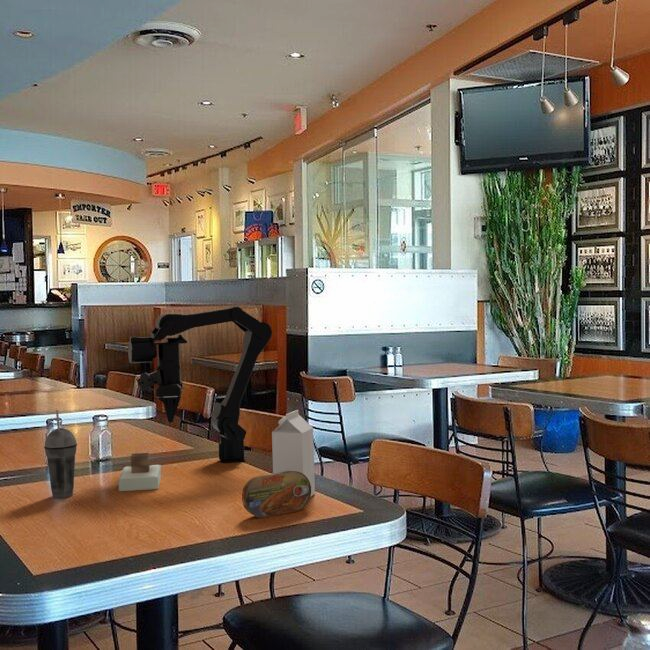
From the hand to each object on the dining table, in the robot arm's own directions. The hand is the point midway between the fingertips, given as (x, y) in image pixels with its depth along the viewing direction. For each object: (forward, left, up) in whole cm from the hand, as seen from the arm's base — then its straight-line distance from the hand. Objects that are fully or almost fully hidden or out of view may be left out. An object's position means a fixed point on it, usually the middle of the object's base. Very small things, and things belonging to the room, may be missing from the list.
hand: (171, 419), depth 214 cm
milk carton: (-28, +41, -13) cm, 51 cm away
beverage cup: (+24, +26, -13) cm, 38 cm away
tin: (-23, +53, -13) cm, 59 cm away
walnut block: (+7, +18, -10) cm, 21 cm away
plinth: (+7, +18, -12) cm, 23 cm away
